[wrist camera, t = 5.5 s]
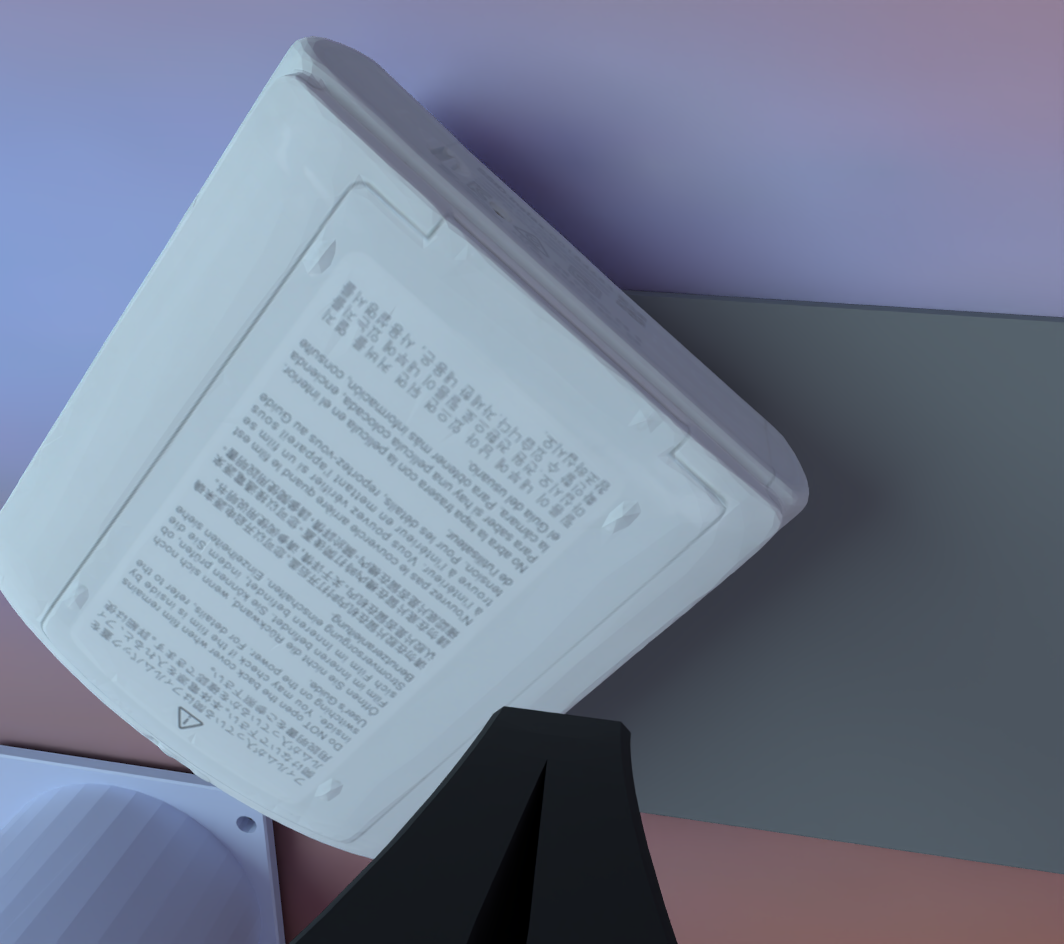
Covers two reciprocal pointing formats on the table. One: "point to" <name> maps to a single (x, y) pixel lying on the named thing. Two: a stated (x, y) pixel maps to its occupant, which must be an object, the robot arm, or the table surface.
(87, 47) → the table surface
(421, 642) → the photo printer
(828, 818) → the mat
